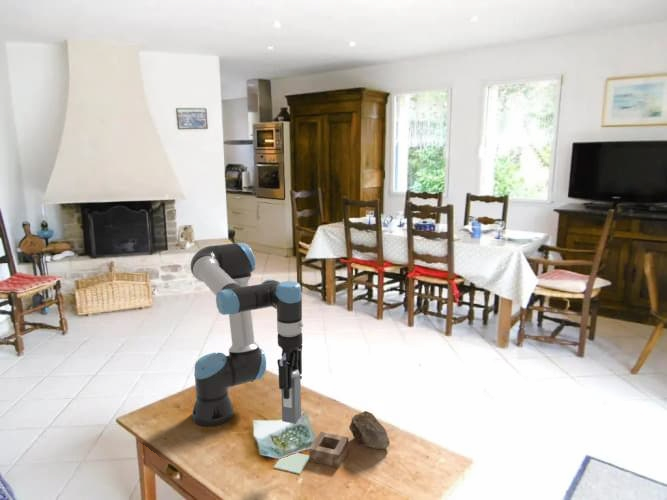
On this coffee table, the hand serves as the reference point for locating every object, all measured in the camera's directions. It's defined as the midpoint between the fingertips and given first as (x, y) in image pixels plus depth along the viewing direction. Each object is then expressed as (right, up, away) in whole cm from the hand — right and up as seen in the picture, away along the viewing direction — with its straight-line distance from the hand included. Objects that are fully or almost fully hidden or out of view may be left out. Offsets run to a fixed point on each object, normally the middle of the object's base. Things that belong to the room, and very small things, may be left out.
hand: (291, 402), depth 149 cm
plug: (0, -6, +1) cm, 6 cm away
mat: (0, -21, +4) cm, 21 cm away
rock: (+26, -19, +15) cm, 35 cm away
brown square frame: (+12, -20, +8) cm, 25 cm away
